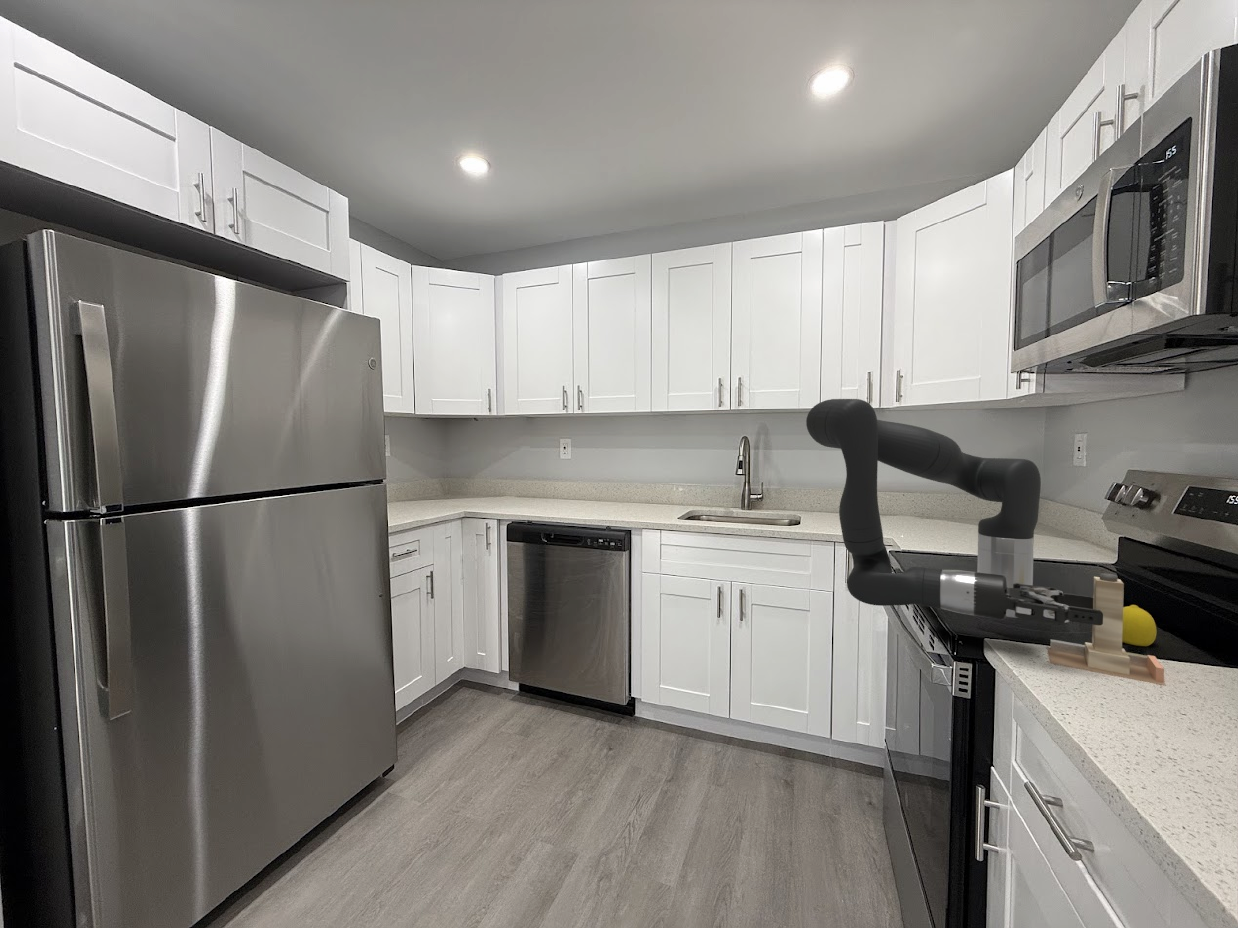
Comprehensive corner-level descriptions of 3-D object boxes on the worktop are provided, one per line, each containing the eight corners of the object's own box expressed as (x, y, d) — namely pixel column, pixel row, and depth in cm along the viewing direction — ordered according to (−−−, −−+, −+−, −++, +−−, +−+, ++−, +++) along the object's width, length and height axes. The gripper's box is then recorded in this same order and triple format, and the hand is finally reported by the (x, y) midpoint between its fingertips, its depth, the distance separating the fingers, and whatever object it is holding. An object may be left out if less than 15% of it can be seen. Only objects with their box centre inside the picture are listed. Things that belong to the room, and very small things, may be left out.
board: (1046, 655, 86) (1046, 646, 86) (1151, 675, 79) (1152, 665, 79) (1050, 672, 80) (1050, 663, 80) (1165, 695, 72) (1165, 685, 72)
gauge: (1084, 657, 82) (1086, 569, 81) (1123, 664, 79) (1126, 574, 79) (1088, 666, 78) (1090, 575, 78) (1129, 674, 76) (1132, 580, 75)
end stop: (1147, 667, 78) (1147, 654, 78) (1154, 669, 77) (1154, 656, 77) (1155, 680, 74) (1156, 667, 74) (1163, 682, 73) (1164, 668, 73)
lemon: (1140, 645, 90) (1142, 601, 90) (1164, 658, 85) (1166, 611, 85) (1103, 642, 92) (1104, 599, 92) (1124, 654, 86) (1125, 608, 86)
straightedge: (1050, 647, 86) (1050, 639, 86) (1147, 665, 79) (1148, 655, 79) (1051, 650, 85) (1051, 641, 85) (1149, 668, 78) (1150, 658, 78)
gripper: (971, 580, 83) (1107, 598, 73) (974, 564, 94) (1091, 577, 85) (970, 625, 83) (1105, 648, 74) (973, 604, 95) (1090, 621, 85)
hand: (1098, 610), depth 79 cm, fingers open, 8 cm apart
